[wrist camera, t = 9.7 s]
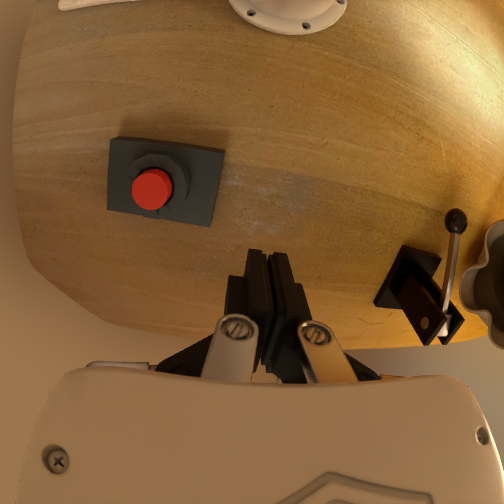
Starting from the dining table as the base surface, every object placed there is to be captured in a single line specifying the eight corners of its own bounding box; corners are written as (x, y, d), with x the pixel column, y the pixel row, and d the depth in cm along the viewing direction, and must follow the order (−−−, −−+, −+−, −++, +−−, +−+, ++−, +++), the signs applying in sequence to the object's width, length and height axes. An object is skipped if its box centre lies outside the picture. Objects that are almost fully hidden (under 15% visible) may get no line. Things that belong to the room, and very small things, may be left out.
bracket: (402, 244, 33) (448, 298, 23) (438, 254, 34) (482, 302, 24) (372, 301, 38) (403, 361, 27) (409, 305, 39) (441, 358, 28)
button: (136, 200, 25) (130, 207, 24) (139, 166, 23) (132, 170, 22) (170, 206, 26) (165, 213, 24) (174, 171, 24) (170, 175, 22)
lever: (440, 206, 28) (458, 203, 25) (455, 212, 29) (472, 211, 25) (419, 330, 28) (436, 337, 25) (435, 330, 29) (451, 337, 26)
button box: (114, 203, 29) (100, 216, 25) (119, 136, 25) (102, 141, 21) (212, 219, 30) (208, 235, 27) (225, 150, 26) (222, 156, 23)
